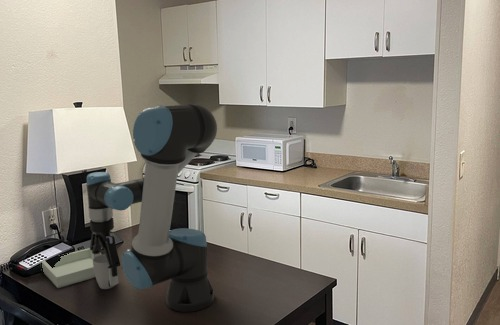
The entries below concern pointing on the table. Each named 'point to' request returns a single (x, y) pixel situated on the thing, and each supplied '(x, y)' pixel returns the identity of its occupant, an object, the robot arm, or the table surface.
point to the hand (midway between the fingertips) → (106, 277)
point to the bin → (71, 268)
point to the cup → (102, 271)
